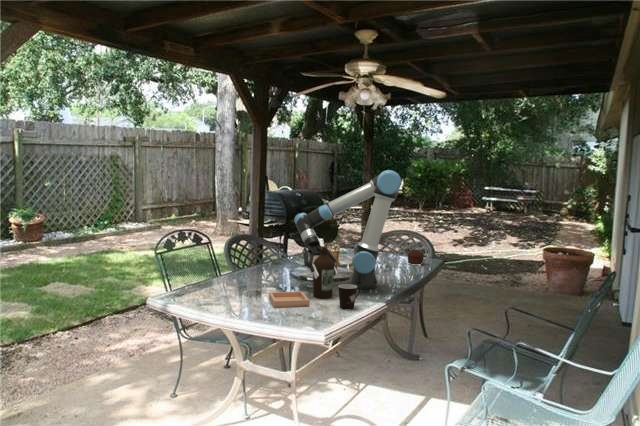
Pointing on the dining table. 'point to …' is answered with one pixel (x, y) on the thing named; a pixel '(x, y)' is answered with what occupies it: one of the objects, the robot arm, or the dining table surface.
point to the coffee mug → (347, 295)
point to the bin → (288, 299)
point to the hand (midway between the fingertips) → (326, 275)
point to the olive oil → (323, 276)
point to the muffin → (415, 257)
